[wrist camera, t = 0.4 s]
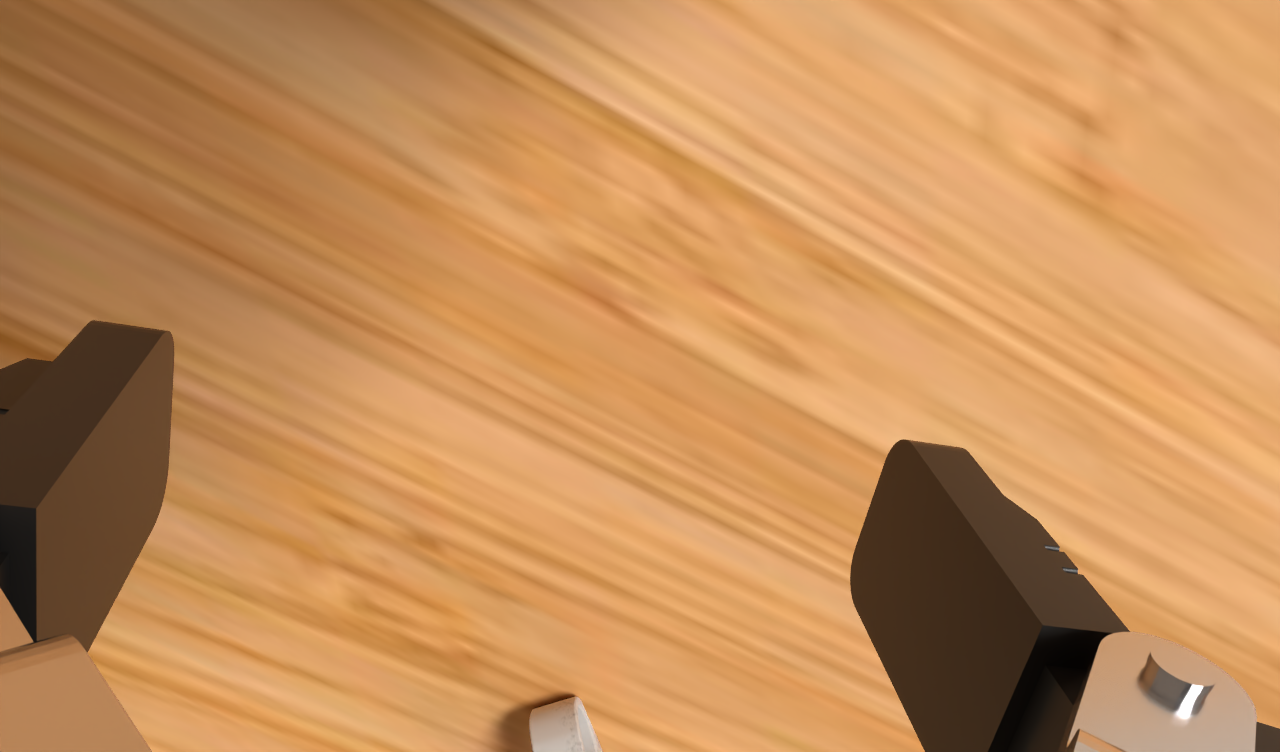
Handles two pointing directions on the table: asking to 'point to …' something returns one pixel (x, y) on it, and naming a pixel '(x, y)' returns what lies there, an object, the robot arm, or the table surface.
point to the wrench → (562, 728)
